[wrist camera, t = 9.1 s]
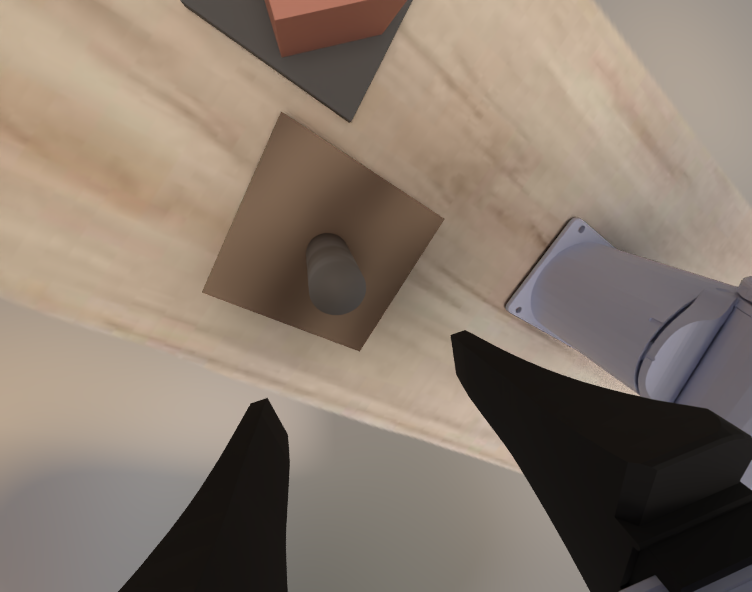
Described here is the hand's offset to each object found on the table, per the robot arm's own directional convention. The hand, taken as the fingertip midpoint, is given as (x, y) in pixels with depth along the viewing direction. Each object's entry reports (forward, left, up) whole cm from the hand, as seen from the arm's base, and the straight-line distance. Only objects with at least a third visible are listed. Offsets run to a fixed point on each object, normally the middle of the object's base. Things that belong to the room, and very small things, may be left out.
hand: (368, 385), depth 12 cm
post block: (+2, -2, -9) cm, 10 cm away
